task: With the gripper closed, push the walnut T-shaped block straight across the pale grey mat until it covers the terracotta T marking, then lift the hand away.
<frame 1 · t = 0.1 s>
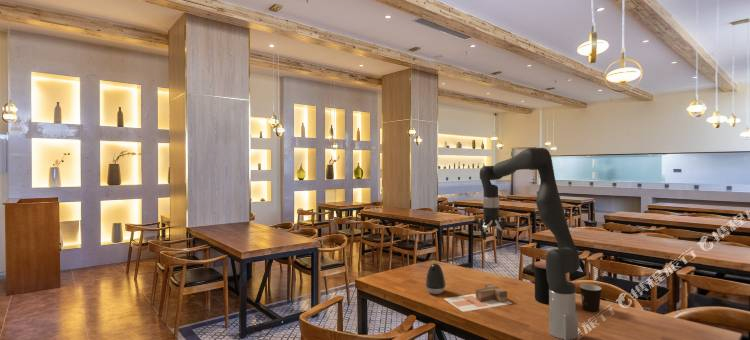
hand: (491, 238, 193), 29 cm above the table, tool pointing down, fingers open, 8 cm apart
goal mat: (477, 301, 187), on the table
coffee mug: (590, 308, 176), on the table
black egg-shaped piece: (435, 293, 201), on the table
t block: (488, 299, 189), resting on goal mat
coffee jar: (546, 301, 186), on the table
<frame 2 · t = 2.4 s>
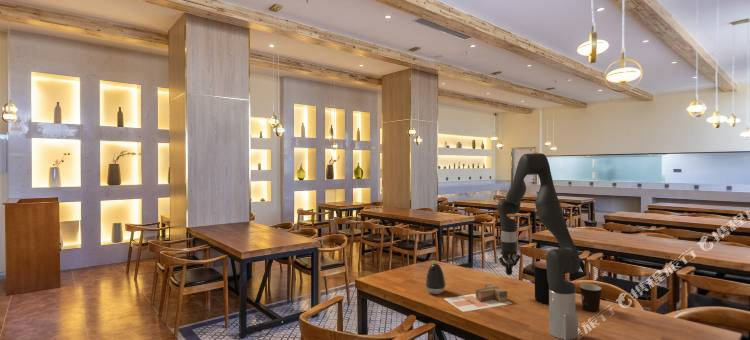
hand: (508, 274, 193), 11 cm above the table, tool pointing down, fingers closed
nothing on the table moved.
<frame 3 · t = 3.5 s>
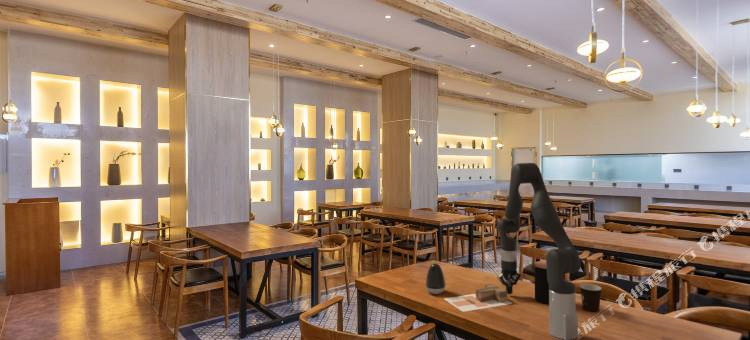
hand: (509, 293, 193), 2 cm above the table, tool pointing down, fingers closed
nothing on the table moved.
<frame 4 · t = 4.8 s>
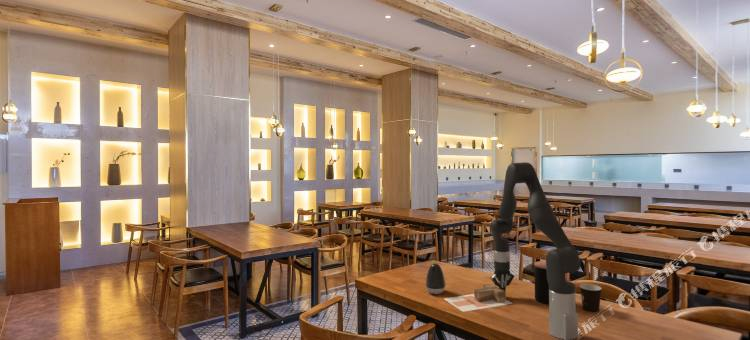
hand: (502, 294, 192), 2 cm above the table, tool pointing down, fingers closed
t block: (487, 299, 189), resting on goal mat, touching gripper
everything else where it was.
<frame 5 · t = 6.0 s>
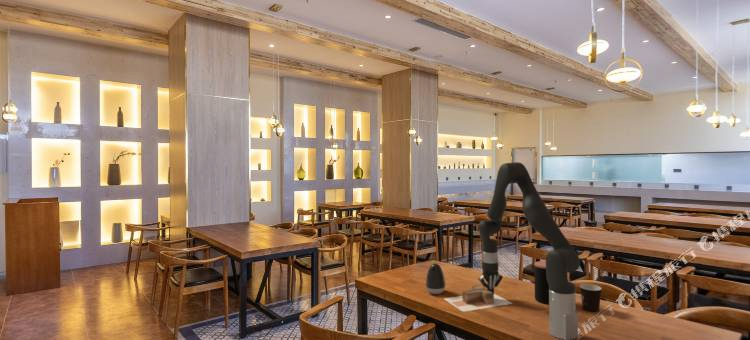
hand: (490, 295, 190), 2 cm above the table, tool pointing down, fingers closed
t block: (475, 300, 187), resting on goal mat, touching gripper
everything else where it was.
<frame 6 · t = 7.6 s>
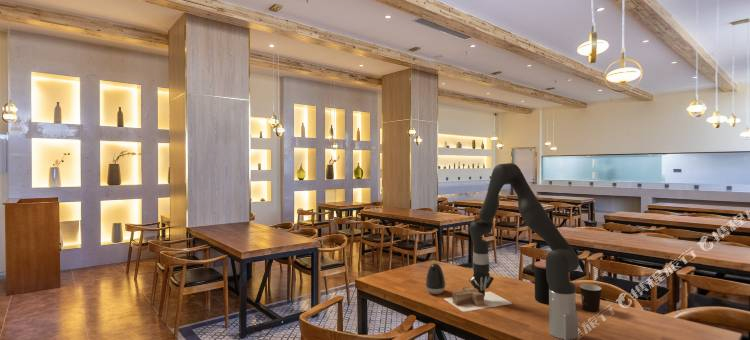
hand: (481, 297, 188), 2 cm above the table, tool pointing down, fingers closed
t block: (465, 302, 186), resting on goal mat, touching gripper
everything else where it was.
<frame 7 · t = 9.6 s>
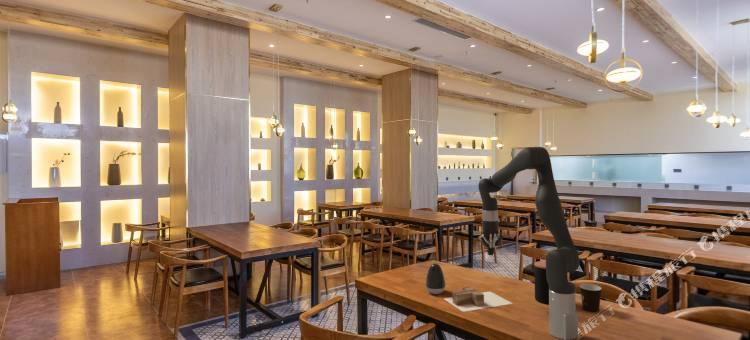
hand: (490, 254, 189), 22 cm above the table, tool pointing down, fingers closed
t block: (465, 302, 186), resting on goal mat
everything else where it was.
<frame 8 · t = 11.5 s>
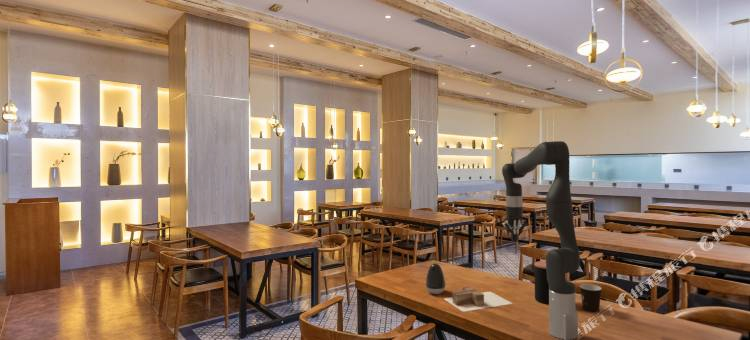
hand: (514, 241, 185), 29 cm above the table, tool pointing down, fingers closed
nothing on the table moved.
at the end: t block 0.5 cm from the target spot, resting on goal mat; t block tilted 0°; the gripper is holding nothing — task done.
